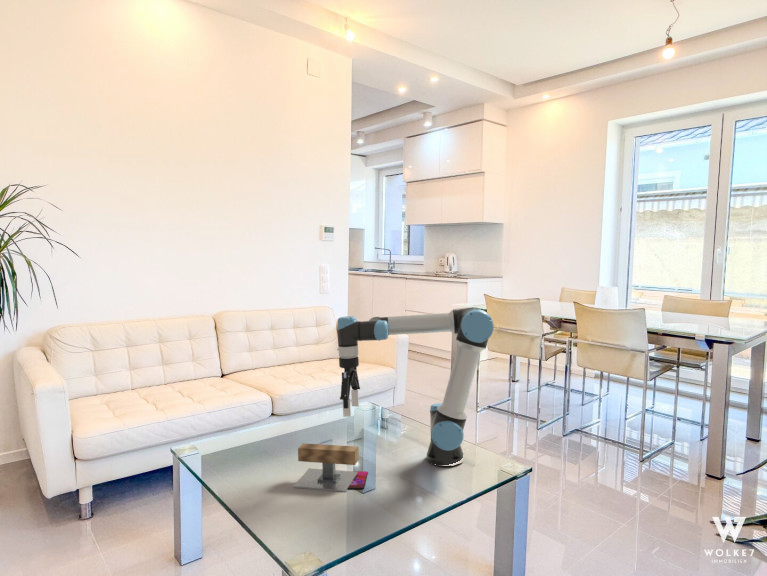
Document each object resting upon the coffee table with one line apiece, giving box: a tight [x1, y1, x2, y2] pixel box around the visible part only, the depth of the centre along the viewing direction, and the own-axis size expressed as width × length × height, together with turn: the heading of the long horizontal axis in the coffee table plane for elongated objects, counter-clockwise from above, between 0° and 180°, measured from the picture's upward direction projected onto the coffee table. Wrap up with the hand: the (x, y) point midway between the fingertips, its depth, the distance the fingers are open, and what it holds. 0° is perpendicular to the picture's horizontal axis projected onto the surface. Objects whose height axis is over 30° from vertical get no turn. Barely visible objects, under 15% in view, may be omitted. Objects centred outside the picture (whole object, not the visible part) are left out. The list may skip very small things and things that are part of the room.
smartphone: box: [347, 470, 369, 491], centre depth 180 cm, size 8×1×15 cm
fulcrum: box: [292, 463, 358, 493], centre depth 180 cm, size 20×16×8 cm
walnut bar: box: [297, 443, 360, 466], centre depth 180 cm, size 22×5×5 cm, turn 78°
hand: (351, 411), depth 187 cm, fingers open, 13 cm apart
